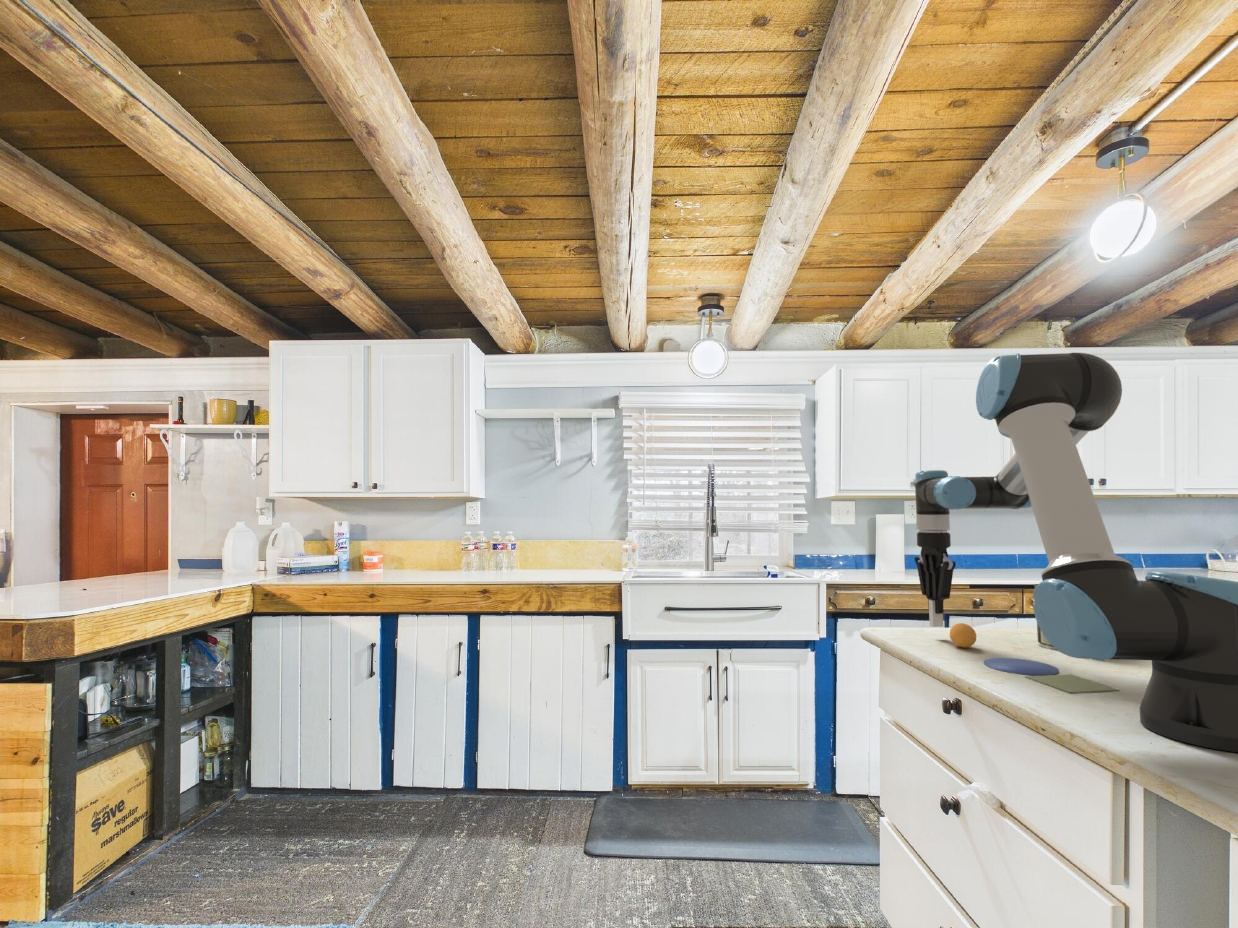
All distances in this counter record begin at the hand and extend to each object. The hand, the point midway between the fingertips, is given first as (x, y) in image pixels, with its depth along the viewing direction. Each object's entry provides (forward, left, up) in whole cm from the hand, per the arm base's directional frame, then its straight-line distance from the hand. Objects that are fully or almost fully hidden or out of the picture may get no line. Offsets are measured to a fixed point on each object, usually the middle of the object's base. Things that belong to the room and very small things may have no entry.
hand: (936, 625), depth 152 cm
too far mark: (-36, -13, -3) cm, 39 cm away
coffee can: (-4, -26, -3) cm, 27 cm away
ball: (-9, -3, 0) cm, 10 cm away
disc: (-25, -9, -3) cm, 27 cm away
